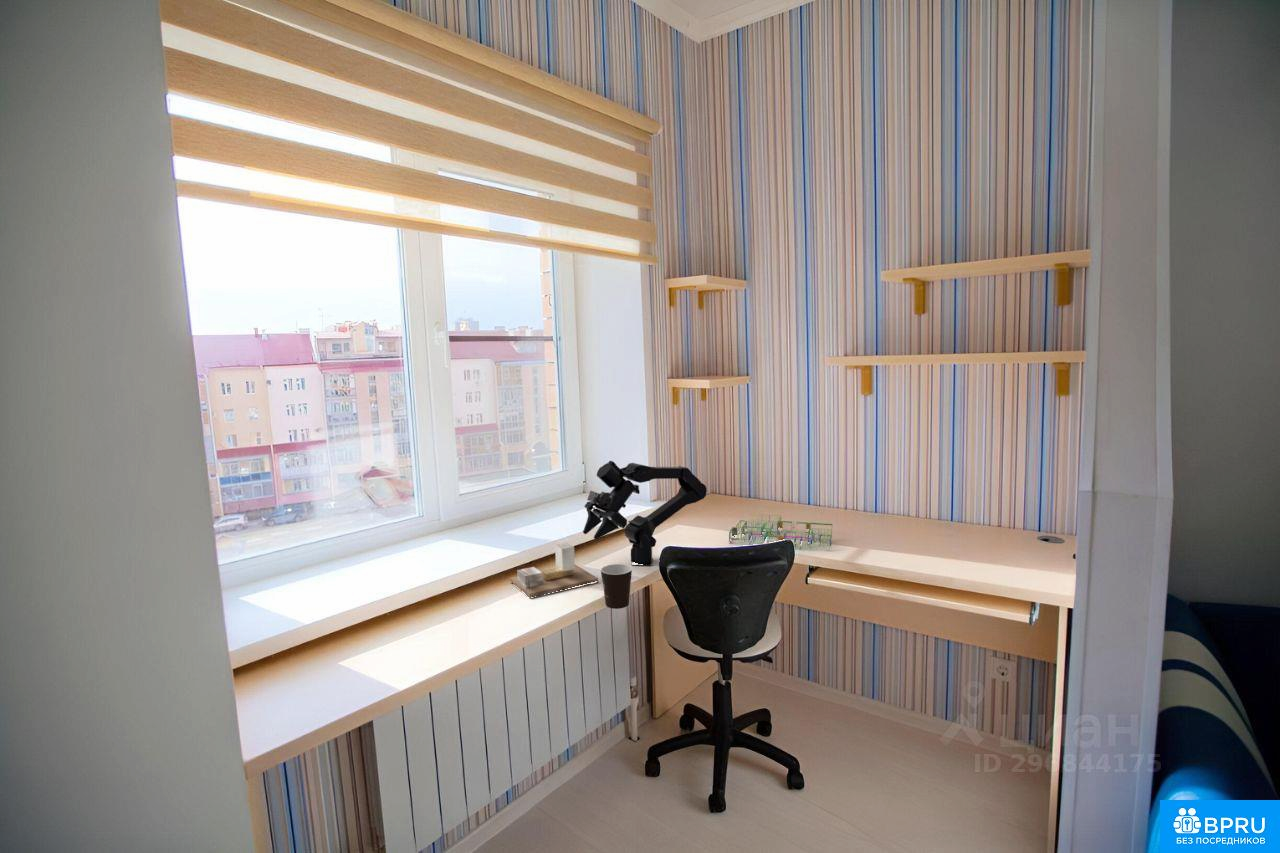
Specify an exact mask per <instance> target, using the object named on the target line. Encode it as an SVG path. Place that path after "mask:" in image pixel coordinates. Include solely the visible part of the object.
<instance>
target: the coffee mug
mask: <svg viewBox="0 0 1280 853" xmlns="http://www.w3.org/2000/svg"><path fill="white" fill-rule="evenodd" d="M632 572H633V568H632V566H630V565H628V564H623V563H613V564H607V565H605V566H602V567H601V568H600V575H601V581H602V582H601V583H602V588H603V589H602V590H603V596H604V601H605V606H606V607H607V608H609V609H613V610H615V609H616V610H619V609H624V608H627V607H628V606H629V605H630V594H631V584H632V575H633V573H632Z"/></svg>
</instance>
